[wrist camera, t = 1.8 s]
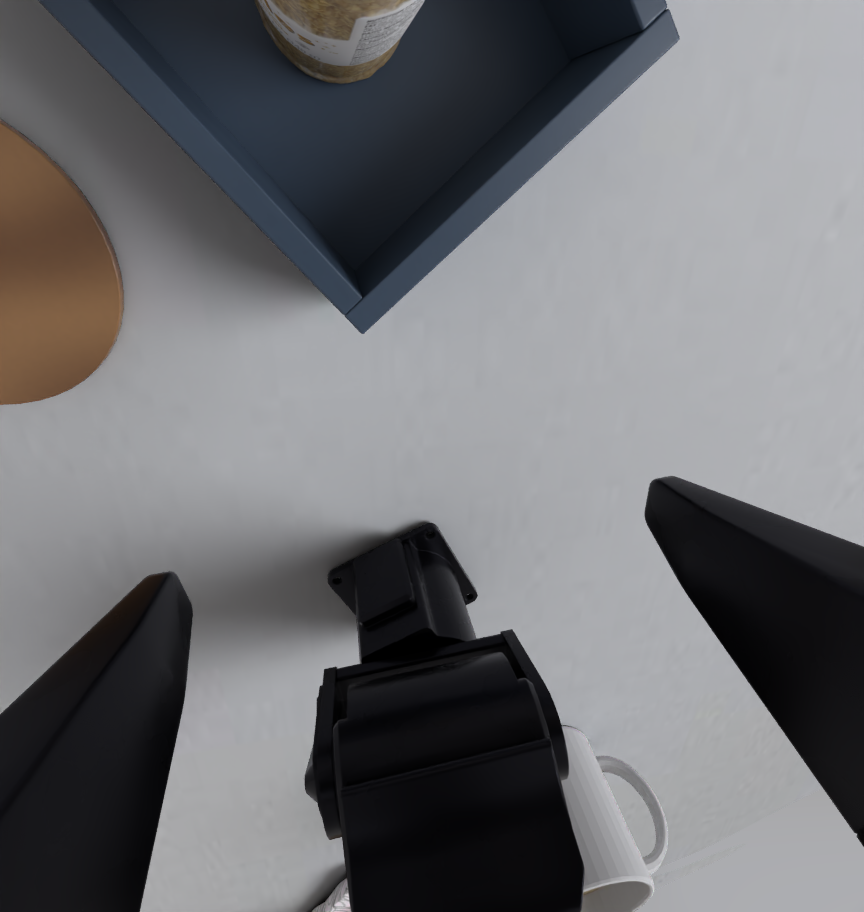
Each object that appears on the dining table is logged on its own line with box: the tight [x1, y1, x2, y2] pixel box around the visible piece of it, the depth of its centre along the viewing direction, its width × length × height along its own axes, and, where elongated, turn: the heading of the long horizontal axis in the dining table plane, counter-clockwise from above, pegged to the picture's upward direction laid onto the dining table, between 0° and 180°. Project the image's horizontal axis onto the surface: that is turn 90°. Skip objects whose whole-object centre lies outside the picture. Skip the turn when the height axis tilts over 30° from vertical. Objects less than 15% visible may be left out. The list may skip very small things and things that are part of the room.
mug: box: [561, 726, 668, 912], centre depth 37 cm, size 11×10×10 cm
